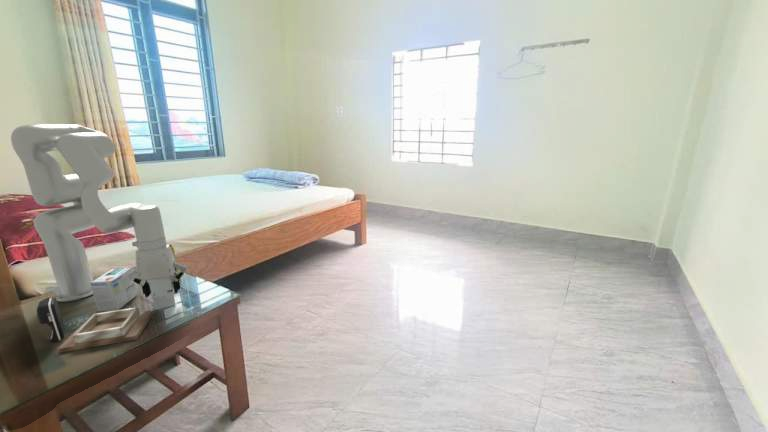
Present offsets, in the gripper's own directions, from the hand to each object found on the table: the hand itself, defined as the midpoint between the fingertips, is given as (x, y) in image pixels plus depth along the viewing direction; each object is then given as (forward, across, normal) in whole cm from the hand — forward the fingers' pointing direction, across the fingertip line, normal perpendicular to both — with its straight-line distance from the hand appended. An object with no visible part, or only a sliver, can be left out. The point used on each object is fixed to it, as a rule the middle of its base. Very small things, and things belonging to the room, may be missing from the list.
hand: (162, 292), depth 112 cm
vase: (+5, -3, +20) cm, 21 cm away
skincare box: (+5, 0, 0) cm, 5 cm away
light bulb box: (+5, -16, +7) cm, 18 cm away
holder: (+5, -11, -12) cm, 17 cm away
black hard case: (+5, -25, -10) cm, 27 cm away
